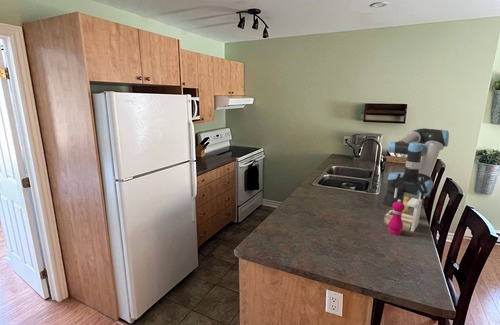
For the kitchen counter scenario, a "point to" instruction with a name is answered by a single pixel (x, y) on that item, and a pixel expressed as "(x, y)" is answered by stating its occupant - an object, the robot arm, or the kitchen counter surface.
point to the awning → (415, 211)
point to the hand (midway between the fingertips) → (406, 200)
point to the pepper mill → (396, 218)
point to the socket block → (404, 217)
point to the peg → (405, 201)
